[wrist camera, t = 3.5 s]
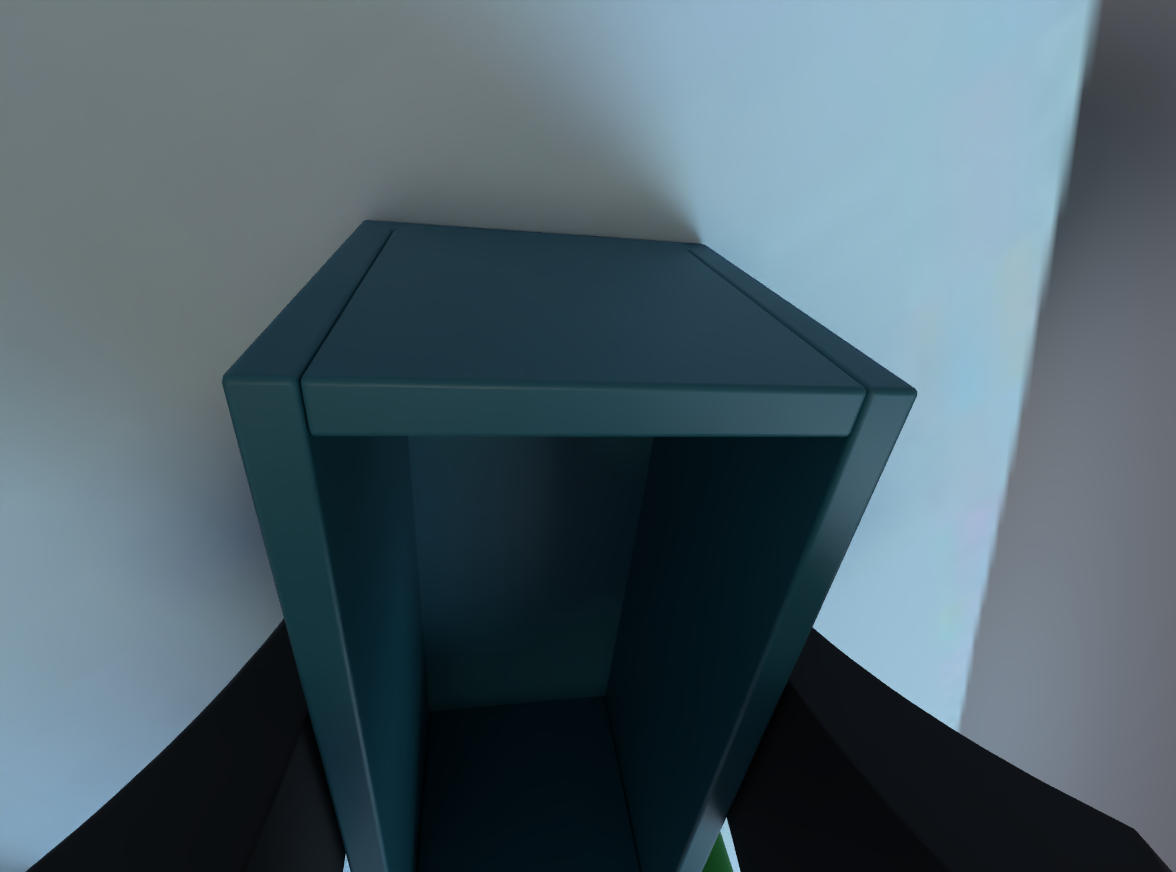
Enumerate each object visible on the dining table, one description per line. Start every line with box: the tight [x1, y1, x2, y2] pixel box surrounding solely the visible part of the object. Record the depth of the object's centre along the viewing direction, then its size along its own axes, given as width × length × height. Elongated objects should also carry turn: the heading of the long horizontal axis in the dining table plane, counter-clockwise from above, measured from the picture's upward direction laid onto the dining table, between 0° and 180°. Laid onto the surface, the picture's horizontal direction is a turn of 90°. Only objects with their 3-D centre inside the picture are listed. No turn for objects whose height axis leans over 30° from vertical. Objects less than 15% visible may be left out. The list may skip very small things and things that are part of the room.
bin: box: [222, 221, 917, 872], centre depth 10 cm, size 12×6×6 cm, turn 174°
